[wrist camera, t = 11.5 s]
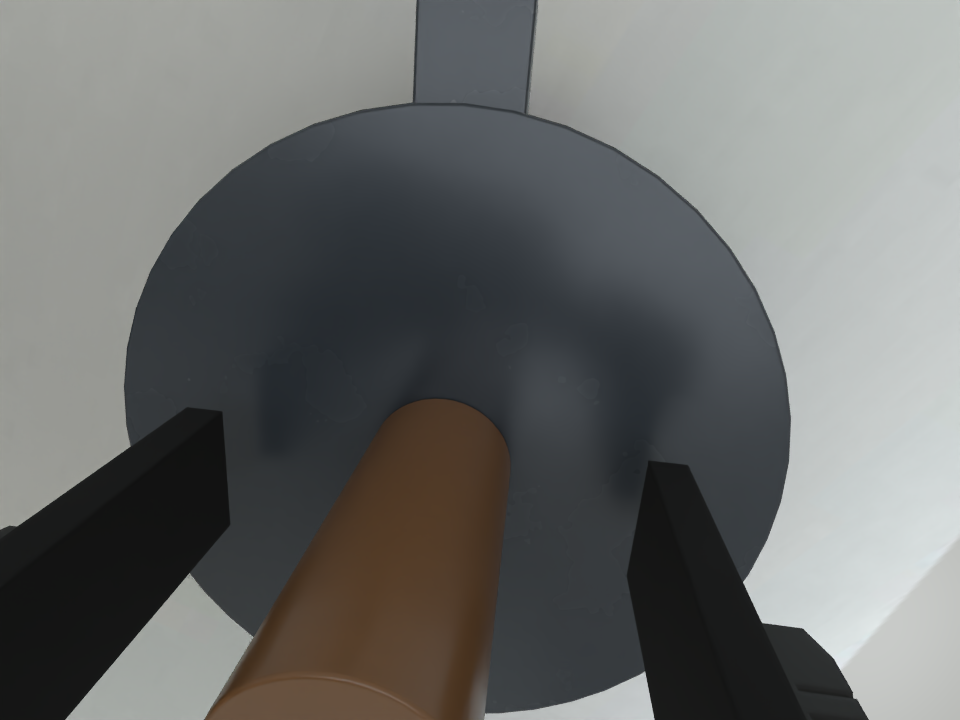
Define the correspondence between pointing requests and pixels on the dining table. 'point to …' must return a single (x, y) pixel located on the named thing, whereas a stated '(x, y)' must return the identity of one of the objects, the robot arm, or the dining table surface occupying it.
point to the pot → (475, 52)
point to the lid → (451, 406)
